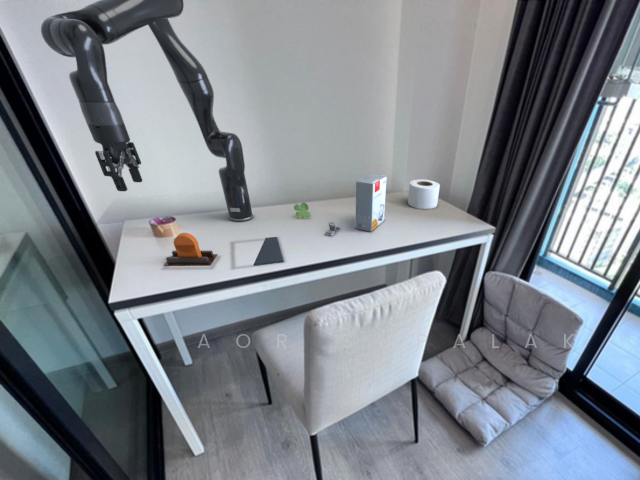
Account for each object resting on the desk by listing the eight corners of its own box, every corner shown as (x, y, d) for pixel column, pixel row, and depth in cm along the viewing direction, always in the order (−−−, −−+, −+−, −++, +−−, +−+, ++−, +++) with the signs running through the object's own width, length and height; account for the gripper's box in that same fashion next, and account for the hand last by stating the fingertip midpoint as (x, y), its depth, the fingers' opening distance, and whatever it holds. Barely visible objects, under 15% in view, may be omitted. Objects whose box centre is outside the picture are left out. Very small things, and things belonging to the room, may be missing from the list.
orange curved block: (180, 261, 105) (170, 235, 99) (183, 258, 106) (174, 232, 101) (200, 261, 105) (191, 236, 100) (202, 258, 107) (194, 232, 102)
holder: (163, 268, 102) (160, 260, 101) (174, 256, 109) (171, 248, 107) (211, 268, 104) (208, 260, 103) (218, 256, 111) (216, 248, 109)
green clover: (304, 225, 150) (304, 222, 143) (290, 213, 147) (289, 210, 141) (314, 213, 151) (315, 210, 144) (300, 201, 148) (300, 198, 142)
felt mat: (231, 242, 120) (231, 241, 120) (277, 238, 126) (276, 236, 125) (232, 268, 105) (232, 266, 105) (283, 261, 111) (283, 260, 111)
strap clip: (331, 236, 130) (331, 226, 128) (324, 235, 131) (324, 225, 128) (340, 229, 137) (339, 219, 135) (333, 227, 138) (333, 218, 135)
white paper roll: (422, 211, 162) (425, 189, 156) (401, 202, 171) (403, 181, 165) (442, 205, 171) (446, 185, 165) (422, 197, 180) (424, 177, 174)
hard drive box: (371, 232, 136) (372, 184, 125) (355, 229, 138) (354, 181, 127) (384, 220, 149) (386, 175, 137) (369, 217, 150) (370, 172, 139)
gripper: (104, 117, 87) (128, 179, 96) (69, 124, 76) (101, 193, 85) (135, 119, 88) (156, 179, 98) (106, 126, 77) (133, 194, 86)
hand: (130, 186), depth 91 cm, fingers open, 8 cm apart
